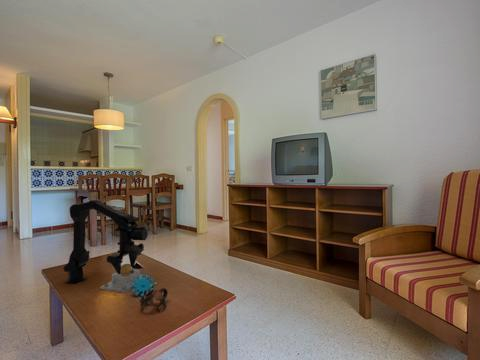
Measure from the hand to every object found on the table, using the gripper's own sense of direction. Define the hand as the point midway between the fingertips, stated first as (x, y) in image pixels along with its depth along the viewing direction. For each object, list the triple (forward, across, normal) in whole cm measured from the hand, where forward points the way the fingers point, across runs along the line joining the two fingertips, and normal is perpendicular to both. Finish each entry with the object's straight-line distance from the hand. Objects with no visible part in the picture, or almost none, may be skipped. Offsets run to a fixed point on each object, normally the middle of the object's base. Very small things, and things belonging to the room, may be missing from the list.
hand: (125, 270), depth 121 cm
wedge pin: (+5, 0, 0) cm, 5 cm away
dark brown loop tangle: (+6, -15, -28) cm, 33 cm away
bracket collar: (+6, 0, 0) cm, 6 cm away
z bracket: (+7, +21, +18) cm, 29 cm away
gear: (+6, -6, -16) cm, 18 cm away
